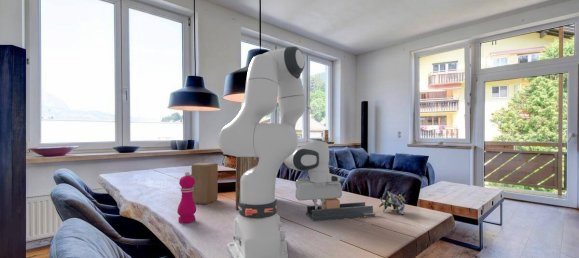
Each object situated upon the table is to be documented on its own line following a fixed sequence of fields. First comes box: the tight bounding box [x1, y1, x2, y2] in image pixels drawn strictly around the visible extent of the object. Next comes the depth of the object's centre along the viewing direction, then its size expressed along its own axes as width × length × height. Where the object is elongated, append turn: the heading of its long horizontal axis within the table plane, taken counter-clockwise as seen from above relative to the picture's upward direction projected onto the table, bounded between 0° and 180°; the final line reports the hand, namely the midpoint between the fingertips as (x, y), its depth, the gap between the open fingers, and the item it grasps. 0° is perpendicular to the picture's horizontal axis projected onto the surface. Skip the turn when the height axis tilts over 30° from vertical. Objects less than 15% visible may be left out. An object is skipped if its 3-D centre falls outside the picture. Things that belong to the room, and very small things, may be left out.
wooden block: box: [190, 162, 219, 205], centre depth 137 cm, size 10×10×20 cm
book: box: [235, 156, 259, 211], centre depth 134 cm, size 25×9×30 cm, turn 166°
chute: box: [305, 201, 376, 222], centre depth 115 cm, size 28×10×4 cm, turn 104°
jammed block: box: [323, 198, 341, 209], centre depth 114 cm, size 6×5×6 cm
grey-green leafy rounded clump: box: [378, 191, 407, 216], centre depth 118 cm, size 11×11×12 cm
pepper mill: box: [177, 171, 197, 224], centre depth 107 cm, size 7×7×20 cm
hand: (318, 209), depth 113 cm, fingers closed
